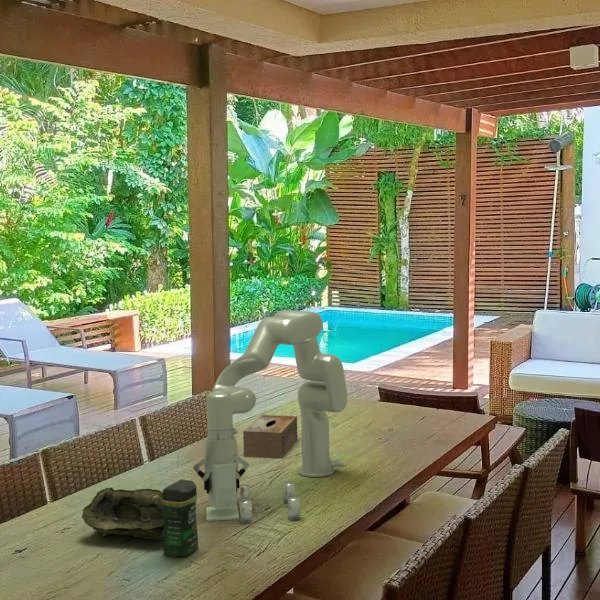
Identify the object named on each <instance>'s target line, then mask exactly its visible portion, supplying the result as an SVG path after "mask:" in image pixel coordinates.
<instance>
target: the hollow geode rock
mask: <svg viewBox="0 0 600 600" xmlns="http://www.w3.org/2000/svg"><path fill="white" fill-rule="evenodd" d="M162 493H163V491H161V490H159V489H156V488H155V489H152V488H141V489H134V490H130V489H128V490H127V489H122V488H121V489H120V488H119V489H114V487H106V488H103V489H101V490H99V491H97V493H96V495H95V496H94V497H93V499H92V500H91V502H90V503H89V504H88V505H86V506H84V508H83V509H82V516H81V518H82V519H83V522H84V524H86V526H88V527H90V528H92V529H93V530H94V531H96V532H97V533H98V535H99V537H100V538H102V537H106V536H108V535H111V534H115V535H127V536H128V535H130V536H133V537H135V538H140V539H146V540H152V541H164V507H163V501H162Z"/></svg>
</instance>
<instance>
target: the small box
mask: <svg viewBox="0 0 600 600" xmlns="http://www.w3.org/2000/svg"><path fill="white" fill-rule="evenodd" d="M208 478H209V493H208V494H207V497H208V498H207V502H208V503H209V504H210V505H212V507H215V508H216V509H217V510H219V509H225V508H230V507H235V506H238V504H237V503H238V501H237V500H238V499H237V498H238V497H237V492H236V464H235V463H231V464H215V465H213V472H212V473H210V475H209V477H208Z"/></svg>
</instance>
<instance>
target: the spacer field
mask: <svg viewBox="0 0 600 600" xmlns="http://www.w3.org/2000/svg"><path fill="white" fill-rule="evenodd" d="M282 485H283V503H284V504H285V505H287V519H288V520H289V521H294V522H295V521H299V520H300V519H301V503H300V501H301V500H300V497H299V496H296V484H295V482H294V481H285V482H283V484H282ZM239 487H240V488H237V493H238V494H237V495H238V497H237V498H238V499H237V500H238V501H237V503H238V507H239V522H240V523H241V524H250V523H252V522H253V501H252V499H251V491H250V488H251V487H250V484H247V483H241V484H239Z"/></svg>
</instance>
